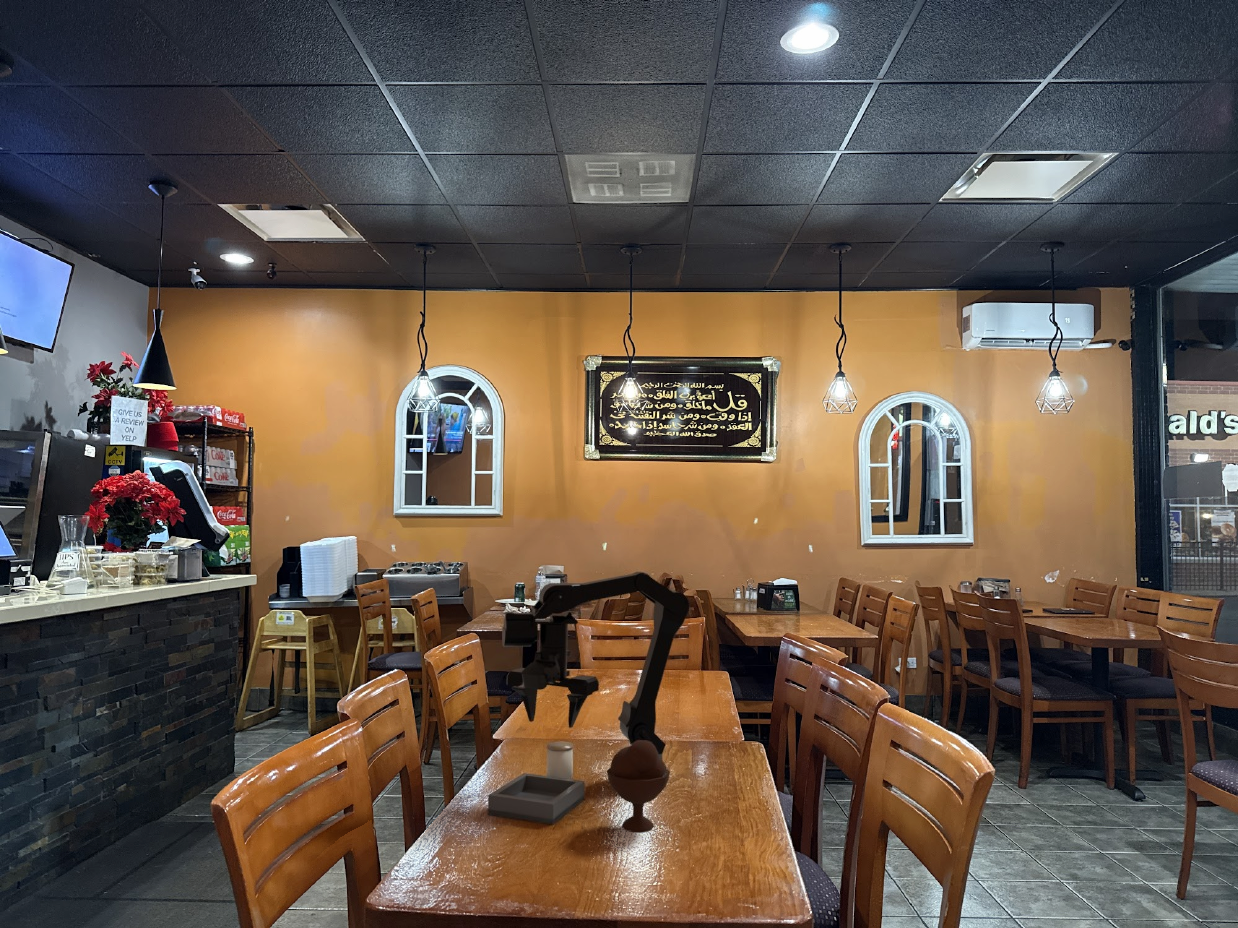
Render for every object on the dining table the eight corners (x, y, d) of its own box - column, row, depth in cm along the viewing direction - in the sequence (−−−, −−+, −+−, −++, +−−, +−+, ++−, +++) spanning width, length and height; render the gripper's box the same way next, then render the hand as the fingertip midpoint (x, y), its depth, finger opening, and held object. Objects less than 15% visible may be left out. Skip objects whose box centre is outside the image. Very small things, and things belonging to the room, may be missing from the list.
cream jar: (577, 783, 165) (577, 742, 166) (566, 791, 160) (566, 749, 161) (553, 779, 167) (553, 740, 168) (541, 787, 162) (542, 746, 163)
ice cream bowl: (675, 819, 145) (676, 733, 147) (658, 842, 135) (658, 749, 136) (619, 811, 149) (620, 728, 150) (598, 833, 138) (599, 743, 139)
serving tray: (584, 799, 155) (584, 780, 155) (553, 824, 142) (553, 804, 142) (523, 791, 160) (523, 772, 160) (487, 814, 147) (488, 794, 147)
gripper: (492, 646, 162) (489, 726, 161) (574, 655, 154) (571, 739, 152) (522, 640, 172) (520, 715, 171) (600, 648, 164) (598, 727, 162)
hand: (550, 724), depth 164 cm, fingers open, 9 cm apart
